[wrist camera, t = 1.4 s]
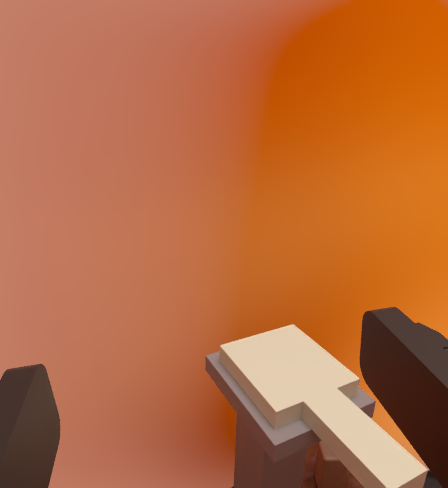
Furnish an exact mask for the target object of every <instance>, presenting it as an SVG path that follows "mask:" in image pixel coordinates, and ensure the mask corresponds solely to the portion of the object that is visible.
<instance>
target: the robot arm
mask: <svg viewBox="0 0 448 488" xmlns="http://www.w3.org/2000/svg"><path fill="white" fill-rule="evenodd" d="M360 368H361V372H362V375H363V378H364V380H365V382H366V384H367V385H368V387H369V388H370V389H371V391H372V392H373V393H374V395H375V396H376V397H377V399H378V400H379V401H380V403H381V404H382V406H383V407H384V408H385V410H386V411H387V412H388V414H389V415H390V416H391V418H392V419H393V420H394V422H395V423H396V425H397V426H398V427H399V428H400V430H401V431H402V433H403V434H404V435H405V437H406V438H407V440H408V441H409V442H410V444H411V445H412V446H413V448H414V449H415V450H416V452H417V453H418V454H419V456H420V457H421V459H422V460H423V461H424V463H425V464H426V465H427V467H428V468H429V469H430V471H431V472H432V473H433V475H434V476H435V478H436V479H437V480H438V482H439V483H440V484H441V486H442V487H443V488H448V340H447V339H446V338H445V337H444V336H443V335H441V334H440V333H439V332H437V331H435V330H433V329H431V328H429V327H427V326H425V325H422V324H420V323H414V322H413V321H411V320H410V319H409V318H408V317H407V316H406V315H405V314H403V313H402V312H401V311H400V310H399V309H398V308H396V307H390V308H385V309H378V310H371V311H367V312H365V313H364V315H363V320H362V335H361V349H360ZM59 439H60V419H59V413H58V410H57V406H56V403H55V399H54V396H53V392H52V389H51V385H50V381H49V378H48V374H47V371H46V368H45V367H44V365H43V364H37V365H31V366H25V367H19V368H12V369H7V370H6V371H5V372H4V374H3V376H2V378H1V380H0V488H48V486H49V482H50V477H51V474H52V469H53V465H54V461H55V457H56V453H57V449H58V445H59Z"/></svg>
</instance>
